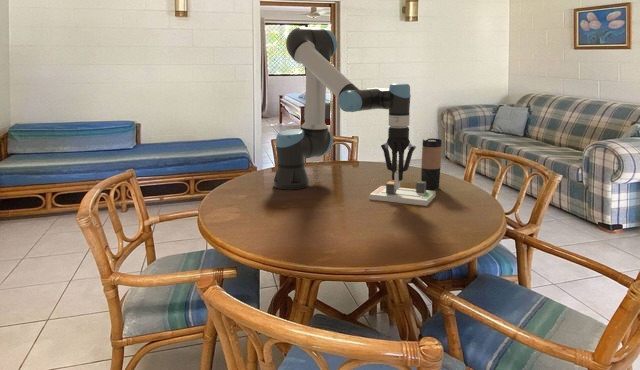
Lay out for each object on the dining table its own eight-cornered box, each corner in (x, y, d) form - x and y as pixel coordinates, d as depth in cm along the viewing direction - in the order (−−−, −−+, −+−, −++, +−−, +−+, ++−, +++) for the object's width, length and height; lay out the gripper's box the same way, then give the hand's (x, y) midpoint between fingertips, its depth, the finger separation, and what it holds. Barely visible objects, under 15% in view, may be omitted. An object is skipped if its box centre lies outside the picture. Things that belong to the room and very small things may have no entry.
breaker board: (369, 199, 186) (369, 184, 185) (381, 190, 198) (381, 176, 197) (426, 205, 177) (427, 190, 175) (435, 196, 189) (436, 181, 187)
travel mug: (439, 190, 197) (442, 141, 192) (420, 189, 198) (422, 141, 194) (439, 185, 204) (441, 138, 199) (420, 185, 206) (422, 138, 201)
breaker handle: (385, 193, 185) (386, 183, 184) (388, 191, 188) (389, 181, 187) (393, 194, 184) (393, 184, 183) (396, 191, 187) (396, 182, 186)
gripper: (378, 126, 178) (377, 189, 184) (413, 128, 172) (411, 192, 178) (385, 124, 185) (383, 184, 190) (418, 126, 179) (416, 188, 185)
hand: (397, 188), depth 184 cm, fingers closed
